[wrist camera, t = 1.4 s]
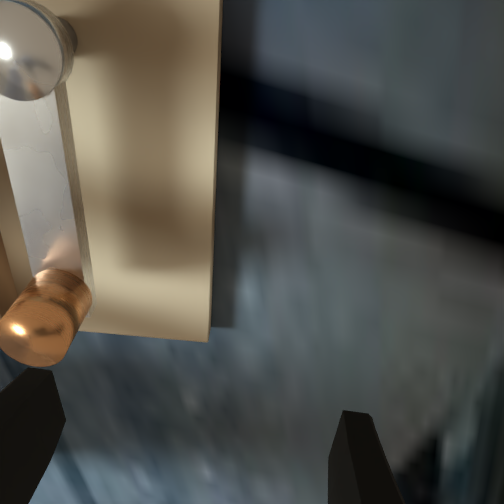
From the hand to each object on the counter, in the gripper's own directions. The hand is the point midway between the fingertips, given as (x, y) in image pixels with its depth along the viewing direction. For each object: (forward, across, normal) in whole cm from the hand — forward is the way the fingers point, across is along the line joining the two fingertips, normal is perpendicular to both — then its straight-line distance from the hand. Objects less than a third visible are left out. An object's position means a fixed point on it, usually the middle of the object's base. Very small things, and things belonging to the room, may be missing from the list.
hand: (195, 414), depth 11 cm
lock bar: (+6, +6, -3) cm, 9 cm away
